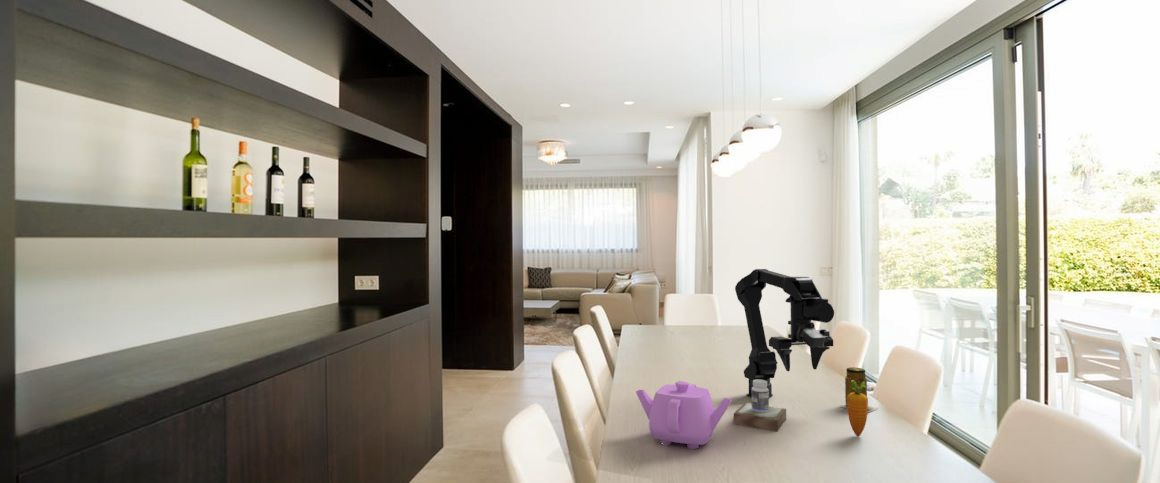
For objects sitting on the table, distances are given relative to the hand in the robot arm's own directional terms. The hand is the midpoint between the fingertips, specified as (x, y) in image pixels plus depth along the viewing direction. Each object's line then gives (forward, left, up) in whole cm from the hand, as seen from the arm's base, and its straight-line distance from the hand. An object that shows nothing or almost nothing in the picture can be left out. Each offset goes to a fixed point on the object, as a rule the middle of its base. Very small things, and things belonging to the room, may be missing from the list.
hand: (801, 370), depth 161 cm
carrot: (+19, -9, -13) cm, 25 cm away
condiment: (+10, +18, -13) cm, 25 cm away
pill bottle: (-5, -16, -10) cm, 19 cm away
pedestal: (-5, -16, -13) cm, 21 cm away
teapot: (-12, -44, -13) cm, 47 cm away
